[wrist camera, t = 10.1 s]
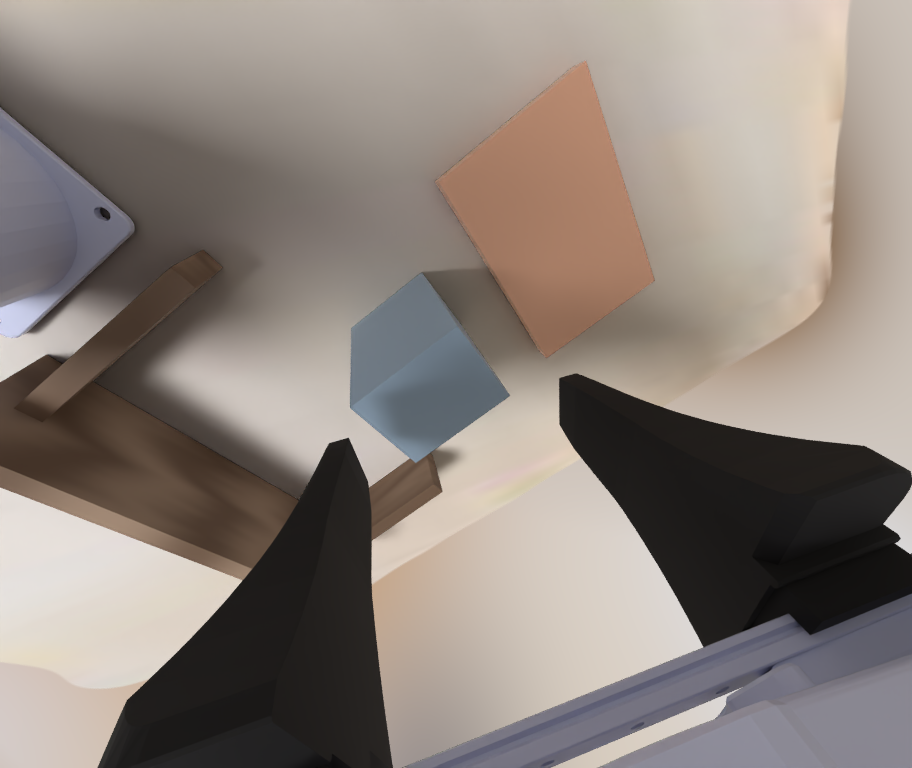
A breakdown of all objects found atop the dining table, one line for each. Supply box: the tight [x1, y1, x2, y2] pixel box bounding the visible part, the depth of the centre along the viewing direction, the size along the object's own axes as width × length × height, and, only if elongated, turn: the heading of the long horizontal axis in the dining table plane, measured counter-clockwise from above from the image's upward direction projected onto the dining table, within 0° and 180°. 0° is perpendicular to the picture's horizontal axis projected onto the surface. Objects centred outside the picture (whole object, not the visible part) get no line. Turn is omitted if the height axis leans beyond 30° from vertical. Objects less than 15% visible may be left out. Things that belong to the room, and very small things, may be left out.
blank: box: [350, 272, 510, 463], centre depth 17 cm, size 4×5×8 cm
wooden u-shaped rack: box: [0, 250, 443, 580], centre depth 19 cm, size 20×10×6 cm, turn 35°
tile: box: [435, 61, 655, 358], centre depth 20 cm, size 12×8×1 cm, turn 35°
